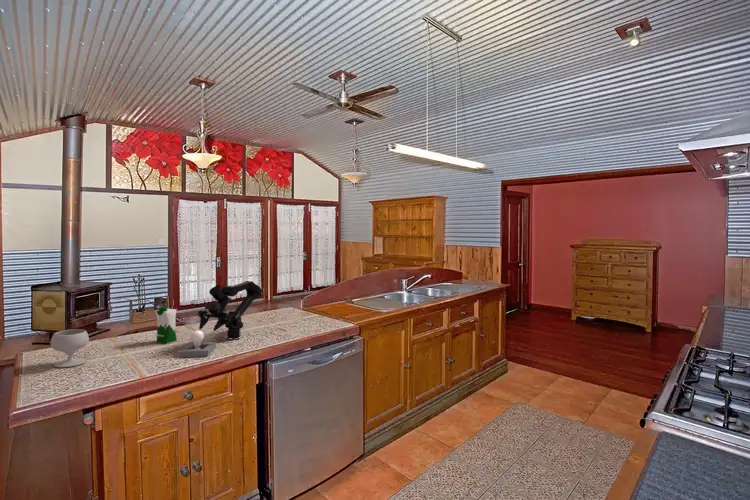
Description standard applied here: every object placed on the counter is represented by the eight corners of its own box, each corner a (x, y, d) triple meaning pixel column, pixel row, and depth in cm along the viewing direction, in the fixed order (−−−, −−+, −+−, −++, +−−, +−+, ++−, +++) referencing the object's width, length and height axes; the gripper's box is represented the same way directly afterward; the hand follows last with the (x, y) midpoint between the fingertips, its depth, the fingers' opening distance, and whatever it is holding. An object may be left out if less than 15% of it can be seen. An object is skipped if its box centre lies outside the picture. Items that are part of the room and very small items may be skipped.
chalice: (69, 370, 171) (68, 336, 170) (43, 367, 173) (42, 335, 173) (96, 359, 185) (96, 329, 184) (72, 358, 187) (71, 327, 186)
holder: (216, 348, 205) (216, 342, 205) (208, 356, 191) (208, 350, 191) (188, 348, 203) (188, 343, 203) (178, 357, 190) (178, 351, 189)
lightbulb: (189, 350, 199) (189, 329, 198) (203, 348, 202) (203, 328, 201) (191, 354, 193) (191, 332, 193) (204, 352, 196) (204, 331, 196)
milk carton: (153, 342, 213) (153, 307, 212) (167, 338, 222) (167, 304, 221) (166, 344, 211) (165, 308, 210) (179, 340, 219) (178, 305, 218)
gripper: (199, 295, 210) (184, 320, 200) (227, 297, 204) (213, 323, 194) (210, 307, 218) (195, 331, 208) (237, 309, 212) (224, 334, 202)
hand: (206, 329), depth 203 cm, fingers open, 9 cm apart
